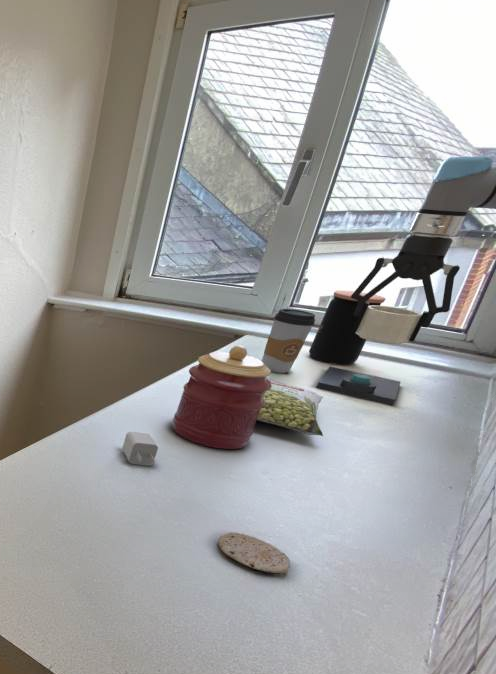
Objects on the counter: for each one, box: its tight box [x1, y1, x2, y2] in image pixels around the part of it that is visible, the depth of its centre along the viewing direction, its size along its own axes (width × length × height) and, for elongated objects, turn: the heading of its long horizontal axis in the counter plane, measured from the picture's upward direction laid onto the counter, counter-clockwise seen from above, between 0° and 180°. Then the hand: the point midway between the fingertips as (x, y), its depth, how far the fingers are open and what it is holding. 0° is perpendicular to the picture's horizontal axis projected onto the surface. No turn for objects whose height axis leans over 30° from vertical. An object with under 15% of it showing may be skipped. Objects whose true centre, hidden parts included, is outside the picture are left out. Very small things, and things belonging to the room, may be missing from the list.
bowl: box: [356, 305, 423, 346], centre depth 128 cm, size 10×10×7 cm
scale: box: [316, 366, 401, 406], centre depth 132 cm, size 14×19×3 cm
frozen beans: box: [257, 380, 324, 437], centre depth 115 cm, size 21×6×25 cm
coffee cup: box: [261, 308, 316, 374], centre depth 140 cm, size 8×8×15 cm
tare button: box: [351, 374, 371, 385], centre depth 127 cm, size 3×3×2 cm
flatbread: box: [217, 532, 291, 574], centre depth 71 cm, size 8×8×1 cm
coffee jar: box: [308, 290, 386, 366], centre depth 149 cm, size 11×11×18 cm
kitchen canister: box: [172, 345, 272, 450], centre depth 101 cm, size 13×13×18 cm
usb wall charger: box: [121, 431, 159, 466], centre depth 93 cm, size 4×7×4 cm, turn 169°
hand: (382, 334), depth 129 cm, fingers closed on bowl, 10 cm apart
